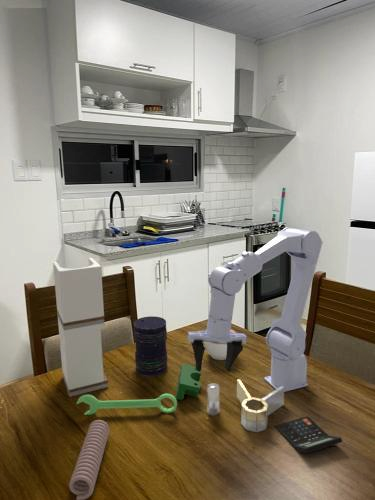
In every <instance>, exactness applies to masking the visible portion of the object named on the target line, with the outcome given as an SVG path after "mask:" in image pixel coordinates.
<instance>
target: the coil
mask: <svg viewBox="0 0 375 500" xmlns="http://www.w3.org/2000/svg"><path fill="white" fill-rule="evenodd" d="M109 434H110V427H109V424H108V423H107V422H106V421H104V420H101V419H97V420H93V421H92V422H90V424H89V427H88V430H87V432H86V435H85V438H84V440H83V444H82V447H81V449H80V452H79V455H78V458H77V461H76V463H75V466H74V468H73V473H72V475H71V477H70V480H69V483H68V484H69V485H68V487H69V490H70V492H71V493H73V495H76V498H75V500H87V499H88V498H91V496H92V494H93V492H94V489H95V487H96V483H97V479H98V474H99V470H100V467H101V463H102V459H103V457H104V456H103V455H104V452H105V449H106V445H107V441H108V438H109Z"/></svg>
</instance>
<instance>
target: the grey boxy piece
mask: <svg viewBox="0 0 375 500" xmlns="http://www.w3.org/2000/svg"><path fill="white" fill-rule="evenodd" d="M52 265H53V277H54V289H55V298H56V299H55V300H56V311H57V313H56V315H57V322H58V324H57V325H58V334H59V335H58V336H59V348H60V358H61V359H60V360H61V369H62V371H61V372H62V378H63V382H64V385H65V388H66V391H67V394H68V397H69V398H70V397H74V396H78V395H84V394H87V393H90V392H93V391H97V390H100V389H106V388H109V379H108V378H107V376H106V374H105V372H104V365H103V364H104V362H103V347H102V346H103V345H102V329H105V328H106V326H105V309H104V294H103V293H104V291H103V274H102V266H101V265H100V264H99V263H98V262H97V261H96V260H95V259H94V258H92V257H89V258H88V266H84V267H78V268H76V267H75V268H66V267H61V266H60V265H59V263H58V262H57V261H53V262H52Z"/></svg>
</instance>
